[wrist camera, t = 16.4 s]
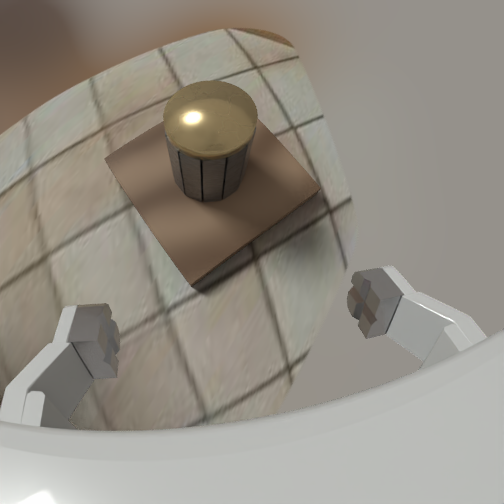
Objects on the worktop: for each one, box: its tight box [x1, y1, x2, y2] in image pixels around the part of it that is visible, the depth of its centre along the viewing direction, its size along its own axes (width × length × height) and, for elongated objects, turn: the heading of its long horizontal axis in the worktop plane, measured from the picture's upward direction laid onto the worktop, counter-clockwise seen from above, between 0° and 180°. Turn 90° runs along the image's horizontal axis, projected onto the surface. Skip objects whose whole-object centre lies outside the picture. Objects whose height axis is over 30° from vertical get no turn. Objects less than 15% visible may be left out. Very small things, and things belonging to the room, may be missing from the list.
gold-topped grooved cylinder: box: [163, 81, 258, 202], centre depth 22 cm, size 6×6×8 cm
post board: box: [104, 118, 321, 287], centre depth 26 cm, size 14×14×2 cm
